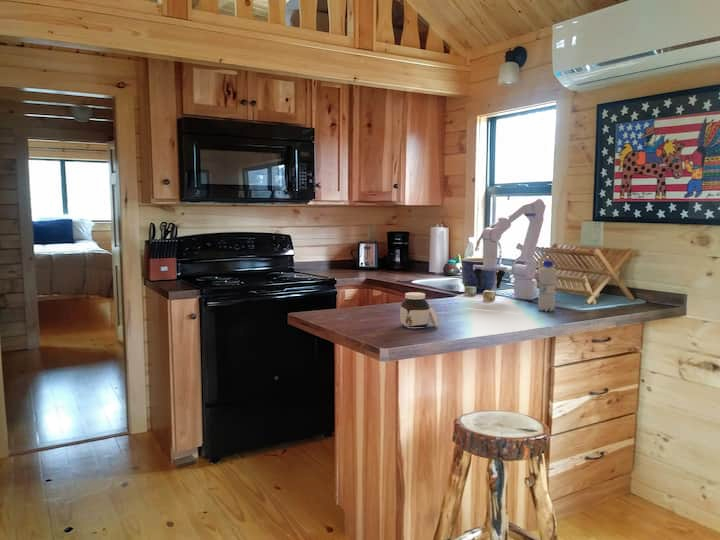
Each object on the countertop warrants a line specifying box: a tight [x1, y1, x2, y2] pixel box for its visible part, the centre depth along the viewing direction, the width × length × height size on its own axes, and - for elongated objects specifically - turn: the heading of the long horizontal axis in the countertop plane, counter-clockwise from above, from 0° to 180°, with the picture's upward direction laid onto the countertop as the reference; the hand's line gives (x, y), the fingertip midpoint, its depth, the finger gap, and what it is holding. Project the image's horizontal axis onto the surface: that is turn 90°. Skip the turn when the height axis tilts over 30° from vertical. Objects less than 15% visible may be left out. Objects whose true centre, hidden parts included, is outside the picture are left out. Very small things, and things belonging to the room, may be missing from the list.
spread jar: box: [399, 291, 440, 328], centre depth 199 cm, size 12×11×12 cm
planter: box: [461, 257, 499, 293], centre depth 276 cm, size 17×17×15 cm
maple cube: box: [482, 290, 496, 301], centre depth 249 cm, size 4×4×4 cm
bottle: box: [537, 260, 558, 313], centre depth 228 cm, size 7×7×20 cm
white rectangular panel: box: [450, 292, 507, 304], centre depth 256 cm, size 20×16×1 cm
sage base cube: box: [464, 286, 477, 297], centre depth 261 cm, size 4×4×4 cm
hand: (489, 287), depth 249 cm, fingers open, 7 cm apart
